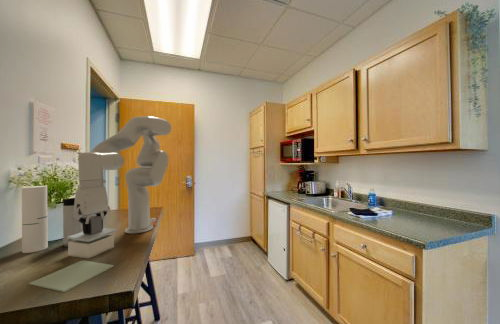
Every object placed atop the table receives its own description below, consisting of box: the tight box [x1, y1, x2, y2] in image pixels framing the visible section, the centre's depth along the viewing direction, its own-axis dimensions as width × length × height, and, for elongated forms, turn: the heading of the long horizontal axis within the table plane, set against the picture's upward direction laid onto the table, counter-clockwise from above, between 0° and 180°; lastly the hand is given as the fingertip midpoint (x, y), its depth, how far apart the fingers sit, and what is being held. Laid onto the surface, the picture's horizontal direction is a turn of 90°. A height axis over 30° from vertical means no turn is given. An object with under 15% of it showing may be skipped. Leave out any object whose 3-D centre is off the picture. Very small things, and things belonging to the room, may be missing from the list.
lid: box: [67, 215, 118, 242], centre depth 80 cm, size 11×11×7 cm
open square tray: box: [67, 234, 115, 260], centre depth 79 cm, size 10×10×5 cm
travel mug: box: [62, 197, 83, 247], centre depth 88 cm, size 6×7×20 cm
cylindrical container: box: [21, 185, 49, 254], centre depth 83 cm, size 7×7×25 cm
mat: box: [29, 259, 115, 293], centre depth 63 cm, size 14×14×1 cm
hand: (93, 230), depth 80 cm, fingers closed on lid, 4 cm apart
